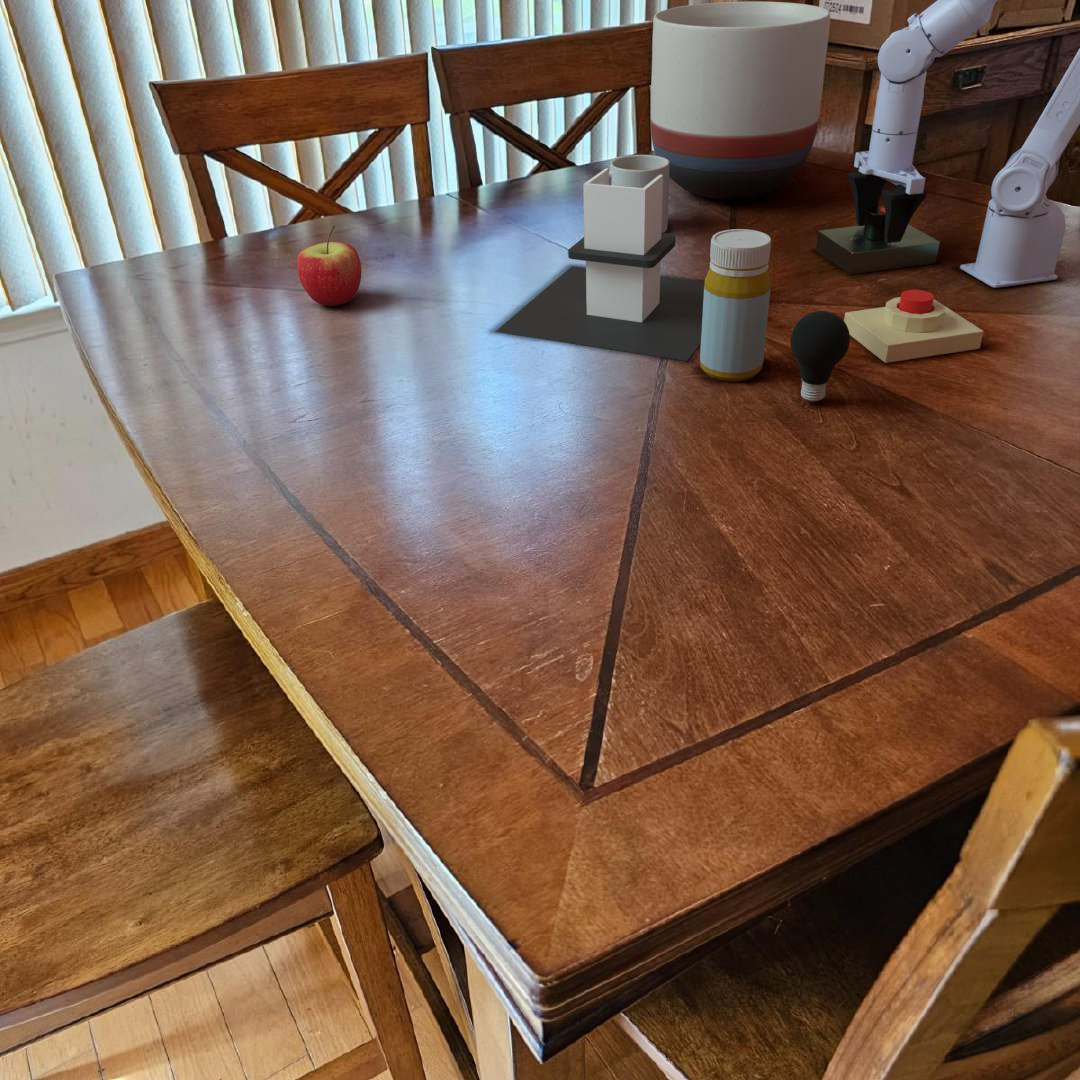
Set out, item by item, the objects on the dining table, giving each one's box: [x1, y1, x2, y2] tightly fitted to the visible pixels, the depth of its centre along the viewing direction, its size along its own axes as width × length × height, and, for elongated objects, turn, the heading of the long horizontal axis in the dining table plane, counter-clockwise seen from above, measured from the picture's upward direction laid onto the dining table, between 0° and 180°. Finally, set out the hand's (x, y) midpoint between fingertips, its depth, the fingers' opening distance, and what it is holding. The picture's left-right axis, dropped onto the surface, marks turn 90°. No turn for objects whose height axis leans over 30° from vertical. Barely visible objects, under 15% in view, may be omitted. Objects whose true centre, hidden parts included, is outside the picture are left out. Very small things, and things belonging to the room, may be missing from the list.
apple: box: [296, 224, 362, 307], centre depth 130 cm, size 8×8×10 cm
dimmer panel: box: [815, 224, 941, 276], centre depth 138 cm, size 13×10×3 cm
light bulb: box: [789, 310, 851, 404], centre depth 102 cm, size 6×6×10 cm
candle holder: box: [495, 167, 705, 362], centre depth 123 cm, size 25×24×16 cm
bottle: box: [699, 228, 772, 382], centre depth 107 cm, size 7×7×15 cm
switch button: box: [899, 289, 935, 314], centre depth 114 cm, size 4×4×2 cm
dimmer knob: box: [863, 205, 885, 240], centre depth 136 cm, size 4×4×4 cm
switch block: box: [843, 296, 984, 364], centre depth 115 cm, size 12×10×4 cm
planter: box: [649, 1, 831, 201], centre depth 159 cm, size 27×27×27 cm
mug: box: [609, 154, 670, 233], centre depth 150 cm, size 11×10×10 cm
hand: (878, 233), depth 137 cm, fingers open, 7 cm apart
